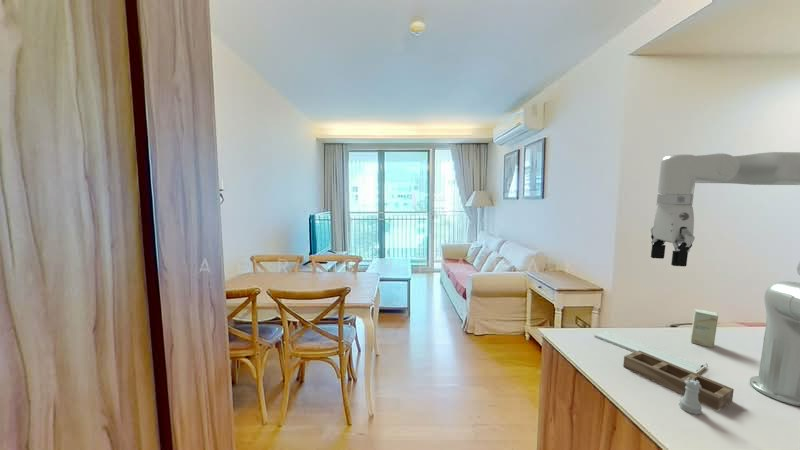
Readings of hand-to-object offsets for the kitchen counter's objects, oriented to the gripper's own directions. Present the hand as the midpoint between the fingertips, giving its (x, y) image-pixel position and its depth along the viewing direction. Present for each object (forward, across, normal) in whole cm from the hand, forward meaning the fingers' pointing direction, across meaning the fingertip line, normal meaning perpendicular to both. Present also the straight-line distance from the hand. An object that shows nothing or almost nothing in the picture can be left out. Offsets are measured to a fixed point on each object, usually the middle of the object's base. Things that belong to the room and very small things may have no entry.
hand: (667, 261), depth 90 cm
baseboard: (+37, +21, -8) cm, 44 cm away
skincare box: (+36, +32, -32) cm, 58 cm away
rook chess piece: (+37, -11, -3) cm, 38 cm away
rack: (+36, +2, -6) cm, 37 cm away
